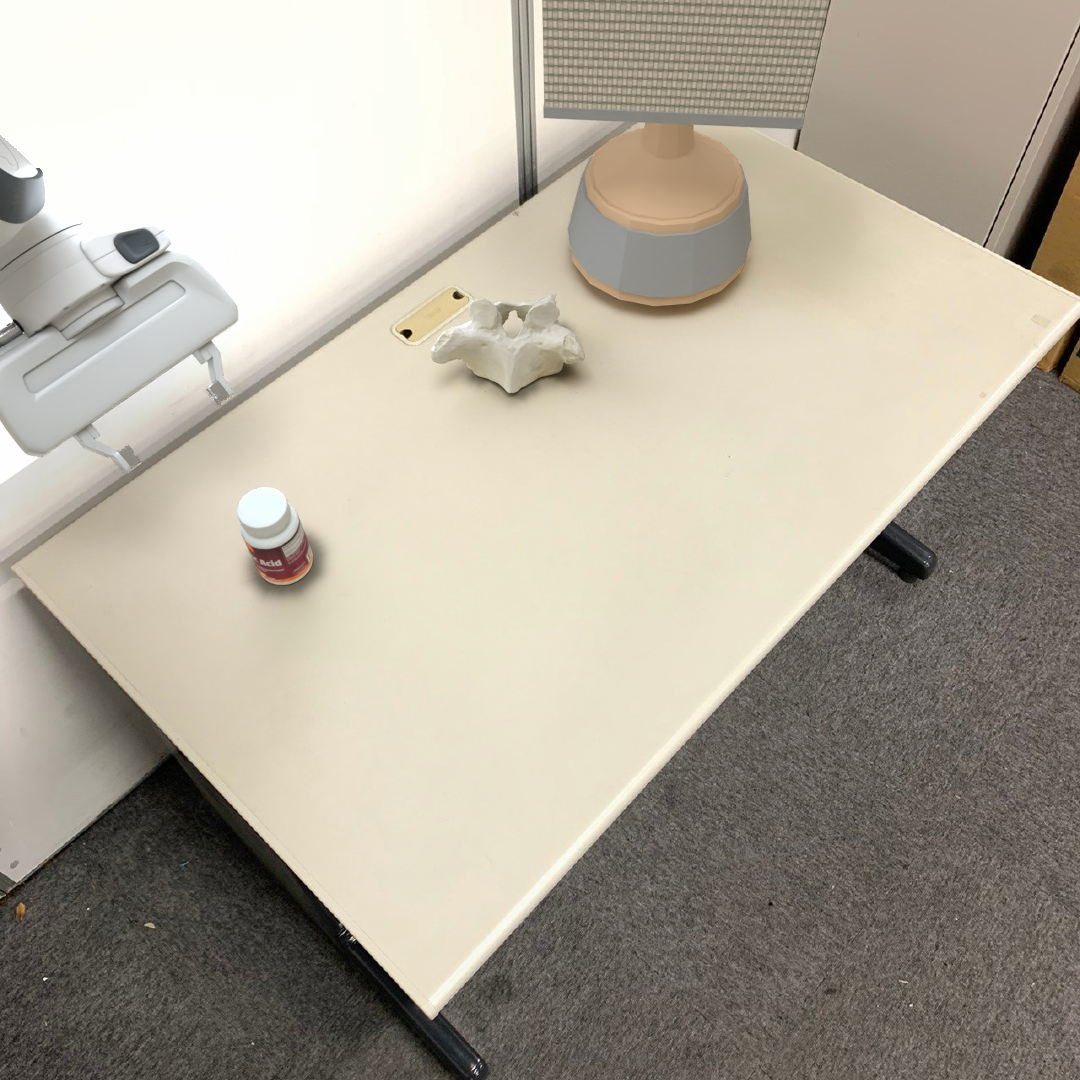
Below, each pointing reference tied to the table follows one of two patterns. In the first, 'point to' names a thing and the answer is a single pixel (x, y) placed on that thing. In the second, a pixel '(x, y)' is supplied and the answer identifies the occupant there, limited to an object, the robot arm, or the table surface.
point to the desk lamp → (672, 130)
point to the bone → (510, 342)
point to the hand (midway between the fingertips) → (181, 434)
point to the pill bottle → (274, 536)
